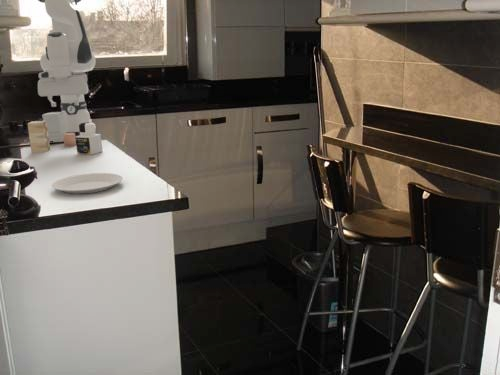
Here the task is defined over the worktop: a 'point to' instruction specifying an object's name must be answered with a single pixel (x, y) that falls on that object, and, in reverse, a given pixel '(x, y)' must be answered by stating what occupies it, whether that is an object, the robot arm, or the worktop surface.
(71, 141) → the pink rounded cylinder
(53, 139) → the supplement box
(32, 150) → the tower base
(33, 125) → the tower top
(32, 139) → the tower mid
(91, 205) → the worktop surface
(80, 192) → the plate
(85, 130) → the medicine bottle
